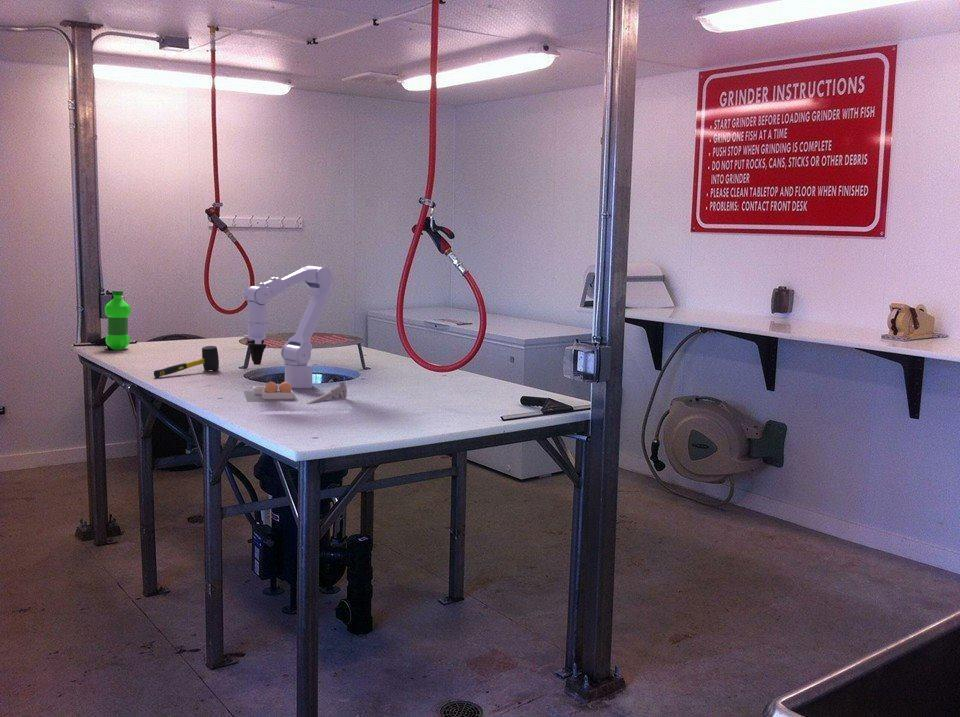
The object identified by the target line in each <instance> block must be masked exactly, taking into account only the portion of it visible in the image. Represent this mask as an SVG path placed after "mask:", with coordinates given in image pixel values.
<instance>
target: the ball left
mask: <svg viewBox="0 0 960 717" xmlns="http://www.w3.org/2000/svg"><path fill="white" fill-rule="evenodd" d="M278 386H279V387H278V390H280V392H281V393H285V392H291V390H292V391H293V388H292V386H291V384H290V383H288V382H285V381H283V382H281V383H280V384H279V385H278Z"/></svg>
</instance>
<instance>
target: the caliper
mask: <svg viewBox="0 0 960 717" xmlns="http://www.w3.org/2000/svg"><path fill="white" fill-rule="evenodd" d="M347 389H348V388H347V384H346V383H345V381H341V382H339V386H336V387H335V388H333V389H330V391H329V392H327V393H324V394H323V395H321V396H318V397H316V398H314V399H312V400H310V401H308V402H306V404H307V405H310V404H316V403H321V402H324V401H326V400H328V399H330V398H333V399H335V398H336V397H339V398H343V397H344V398H345V399H347V398H346V397H348V396H347V395H348V392H347V391H348V390H347Z"/></svg>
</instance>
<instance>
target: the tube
mask: <svg viewBox="0 0 960 717" xmlns="http://www.w3.org/2000/svg"><path fill="white" fill-rule="evenodd" d="M265 386H266V385H254V386H252V391H253V394H262V390H265Z"/></svg>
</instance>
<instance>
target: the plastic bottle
mask: <svg viewBox="0 0 960 717" xmlns="http://www.w3.org/2000/svg"><path fill="white" fill-rule="evenodd" d="M111 293H112V294H111V295H112V296H113V298H112V299H111V300H110V301H108V302H107V303H106V304H105V306H104V315H105V316H107V334H106V336H105V344H106V345H107V346H108V347H109V348H110V349H111V350H118V351H119V350H125V349H126V348H127V347H128V346H129V344H130V342H131V338H130V335H129V332H128V329H129V328H128V327H129V326H128V324H129V323H128V322H129V321H128V320H129V317H130V316H131V314H132V307H131V306H130V304H128V303H127V302H126V301H125V300H124V299H123V296H124V290H112V292H111Z"/></svg>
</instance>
